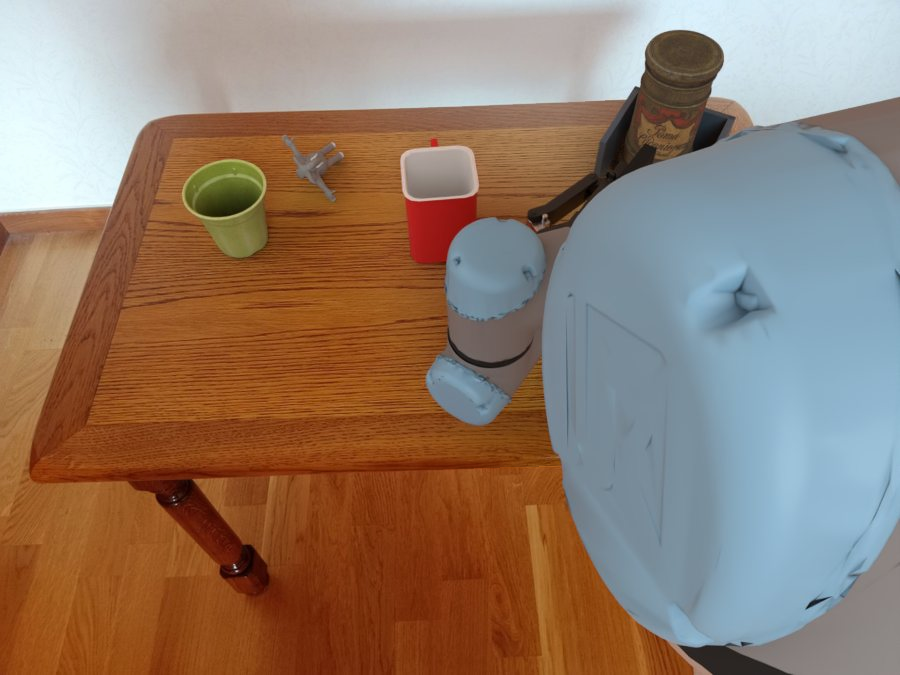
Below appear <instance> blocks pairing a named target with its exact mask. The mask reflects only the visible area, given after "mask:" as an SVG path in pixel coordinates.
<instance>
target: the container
mask: <svg viewBox="0 0 900 675" xmlns="http://www.w3.org/2000/svg"><path fill="white" fill-rule="evenodd" d="M645 47H646V48H645V50H644V71H643V73H642V75H641V76H640V85H639V87H640V89H639V92H638V96H637V100H636V105H635V109H634V113H633V117H632V121H631V125H630V128H629V130H628V132H627V134H626V138H625V141H624V143H623V145H622V146H621V147H620V149H619V151H618V156H617V158H616V161H615V164H614V169H615V168H616V166H617V165H618V164H619V163H621V162H624V163H627V164H629V163H630V161H631V160H632V159H633V158H634V156H635V155H636V154H637V153H638V151H639V150H640V149H641V148H642V146H643V145H644V144H645V143H646V144H648V145H651V146H653V147H655V148H657V150H656V154H655V157H654V161H653V164H655V163H658V162H661V161H665V160H668V159H672V158H675V157H678V156H682V155H685V154H689V153H692V150H693V141H694V138H695V136H696V133H697V130H698V127H699V124H700V121H701V118H702V115H703V112H704V109H705V108H707V107H706V106H707V103H708V100H709V98H710V97H711V94H712V90H713V87H712V86H713V84H714V81H715V80H716V78H717V77H718V74H719V73H720V72H721V70H722V68H723V66H724V63H725V53H724V50H723V48H722V46H721V45H720V44H719V43H718V42H717V40H715V39H713V38H712V37H709V36H708V35H707V34H704V33H701V32H698V31H694V30H689V29H672V30H671V29H670V30H667V31H663V32H661V33H659V34H656V35H655V36H654V37H652V38H651V40H649V42H648V43H647V45H646V46H645Z"/></svg>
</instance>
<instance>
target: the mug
mask: <svg viewBox="0 0 900 675" xmlns="http://www.w3.org/2000/svg"><path fill="white" fill-rule="evenodd" d="M475 156H476V155H475V153H474V151H473V149H472V148H470V147H469V146H466V145H459V144H457V145H444V146H443V145H441V146H439V143H438V139H437V138H436V137H433V138H431V139H430V147H429V146H428V147H417V148H416V147H415V148H410V149H408V150H406V151H404V152H403V153H402V154H401V155H400V159H399V162H400V163H399V164H400V165H399V166H400V177H401V190H402V191H401V192H402V194H403V196H404V201H405V202H404V203H405V210H406V222H407V230H408V231H407V232H408V240H409V241H408V242H409V251H410V256H411V258H412V260H413V261H414V262H416V263H418V264H424V265H426V264H438V263H446V262H447V257H448V251H449V248H450V245H451V243H452V241H453V239H454V238H455V236H456V235H457V234H458V233H459V232H460V231H461V230H462V229H463V228H464V227H466V226H467V225H469V224H471V223H473V222H475V221H477V219H478V218H477V216H478V192H479V189H480V182H479V176H478V169H477V163H476V157H475Z"/></svg>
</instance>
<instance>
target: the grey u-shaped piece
mask: <svg viewBox="0 0 900 675" xmlns="http://www.w3.org/2000/svg"><path fill="white" fill-rule="evenodd" d="M639 89H640V86H636V85H635V86H634V87H633V89H632V90H631V91H630V93H629V95H627V98H626V100H625V101H624V103H623V104H622V106H620V108H619V111H618V112H617V113H616V115H615V116H614V118H613V120H612V121H611V123H610V124H609V126H608V127H607V129H606V131H605V132H604V133H603V136H602V137H601V138H600V140H599V144H598V149H597V154H596V159H595V164H594V169H593V173H595V174H597V175H598V177H599V178H604V175H606V173H607V170H608V168H609V167H610V166H611V164H612V162H613V161H614V159H615V157H616V156H617V154H618V153H619V152H620V150H621V148H622V147H623V145H624V144H625V138H626V134H627V132H628V130H629V128H630V125H631V121H632V117H633V113H634V109H635V105H636V100H637V96H638V92H639ZM736 118H737V116H734V115H731V114H728V113H724V112H721V111H718V110H714V109H712V108H708V107H705V109H704V112H703V115H702V118H701V121H700V124H699V127H698V130H697V133H696V136H695V138H694V141H693V150H692V152H695V151H698V150H701V149H704V148H707V147H710V146H712V145H714V144H715V143H716V142H718V141H719V140H721V139H723V138H726V137H729V136H730V134H731V133H732V132H731V131H732V129H733V126H734V124H735V121H736Z"/></svg>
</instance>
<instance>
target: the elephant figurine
mask: <svg viewBox="0 0 900 675" xmlns="http://www.w3.org/2000/svg"><path fill="white" fill-rule="evenodd" d="M281 138H282V141H283V142H284V144H285V146H286V147H287V148H289V149H290V150H291V151H292V153H293V156H292V161H293V162H294V164H296V165H297V168H296V169H295V174H296V176H297V177H298V178H299V179H301V180H304V179H305V178H307V180H308V181H309V183H311V185H315V186H317V187H318V188H319V189H321V190H322V191H323V193H324V195H325V197H326V198H327V199H329V201H330V202H331V203H334V202H335V201H336V200H337V198H336V197H335V196H334V194H333V193H336V192H337V191H336V190H331V189H330V188H329V187H328V186H327V185H326V183H325V182H324V181H325V180H323V179H322V176H323V175H325V174H326V172H327V170H328V169H329V168H331V167H332V166H334V165H335V164H337V163H339V162H341V161H342V160H343V159H344V158H345V155H344V152H343V151H338V152H337V153H335V154H334V155H332V156H331V157H329V158H326V155H328V154H330V153H331V152H333V151H335V150H336V147H337V145H336V142H334V141H331V142H329V143H327V144H326V145H325V146H324V147H322V148H321V149H318V150H316V151H315V152H309V153H307V154H306V156H305V155H304V154H303V153H302V152H300V150H299V149H298V148H297V147H296V146H297V145H295V142H294V140H295V136H292V137H291V138H289V136H288V134H286V133H285V134H283V135H282V137H281Z"/></svg>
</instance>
